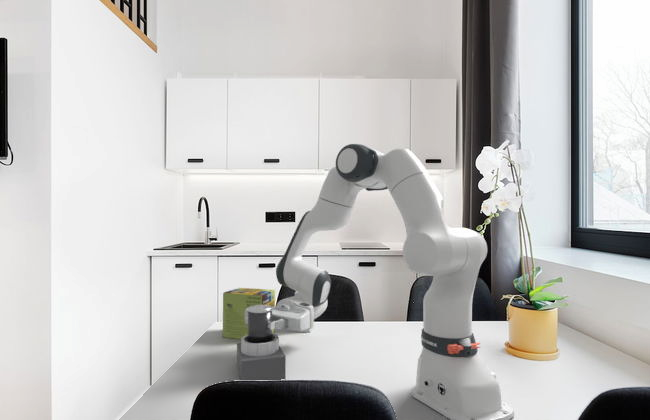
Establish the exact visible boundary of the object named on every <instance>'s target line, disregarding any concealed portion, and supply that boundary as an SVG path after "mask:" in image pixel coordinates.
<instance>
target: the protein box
mask: <svg viewBox="0 0 650 420" xmlns="http://www.w3.org/2000/svg"><path fill="white" fill-rule="evenodd" d="M253 305H270V306H273V307H276V289H267V288H266V289H265V288H252V287H251V288H249V287H248V288H247V287H237V288H235V289H231V290H227V291H224V292H223V293H222V338H228V339H235V340H241V338H242V337H244V336H245V335H248V325H246V324H245V309H247V308H249V307H250V306H253ZM275 333H276V329H273V330H272V334H275Z"/></svg>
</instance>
